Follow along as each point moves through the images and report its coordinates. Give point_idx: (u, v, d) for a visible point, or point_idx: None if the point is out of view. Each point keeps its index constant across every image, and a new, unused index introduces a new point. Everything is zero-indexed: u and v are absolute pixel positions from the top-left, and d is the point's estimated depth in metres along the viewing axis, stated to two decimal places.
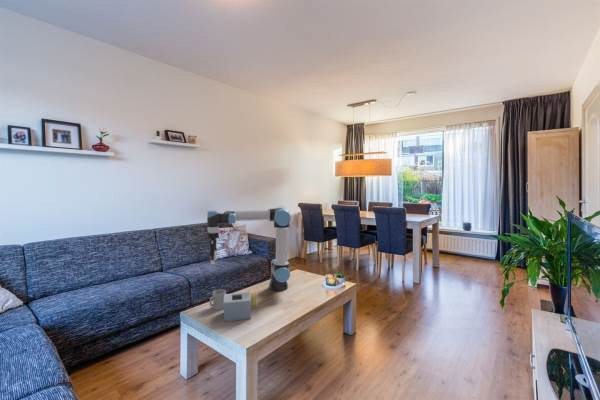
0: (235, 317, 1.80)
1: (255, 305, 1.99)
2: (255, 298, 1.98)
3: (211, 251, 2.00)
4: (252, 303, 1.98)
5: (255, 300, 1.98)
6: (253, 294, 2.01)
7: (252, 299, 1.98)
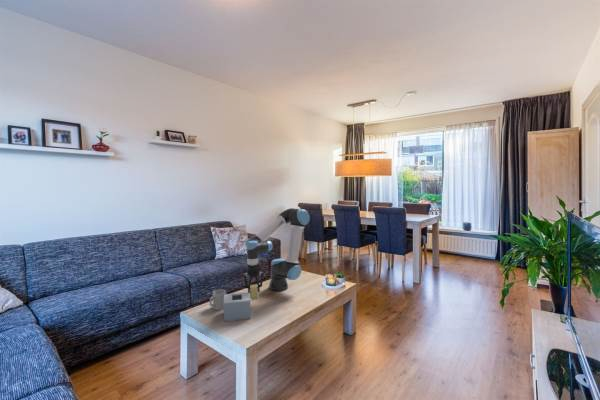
0: (235, 317, 1.80)
1: (256, 297, 1.99)
2: (256, 290, 1.98)
3: (245, 284, 2.00)
4: (253, 295, 1.98)
5: (256, 292, 1.98)
6: (253, 286, 2.01)
7: (253, 291, 1.98)
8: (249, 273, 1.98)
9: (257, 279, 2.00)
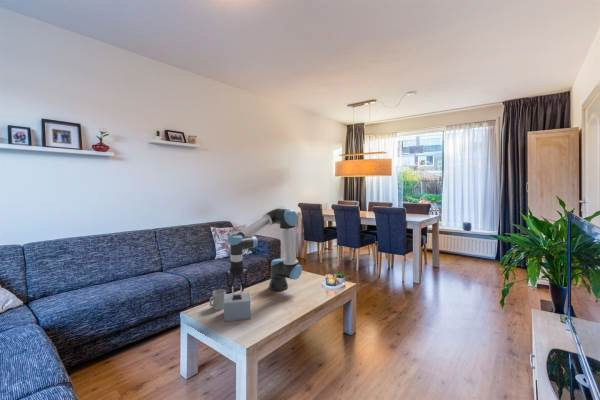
0: (235, 317, 1.80)
1: None
2: None
3: (227, 282, 1.84)
4: None
5: None
6: None
7: None
8: (232, 270, 1.83)
9: (241, 277, 1.85)
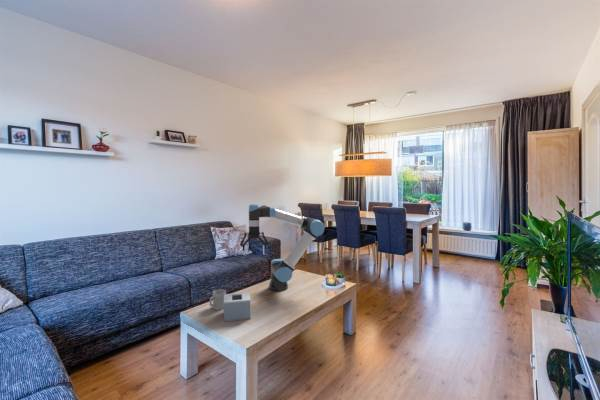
0: (235, 317, 1.80)
1: None
2: None
3: (241, 241, 2.12)
4: None
5: None
6: None
7: None
8: (250, 234, 2.12)
9: (260, 238, 2.13)
